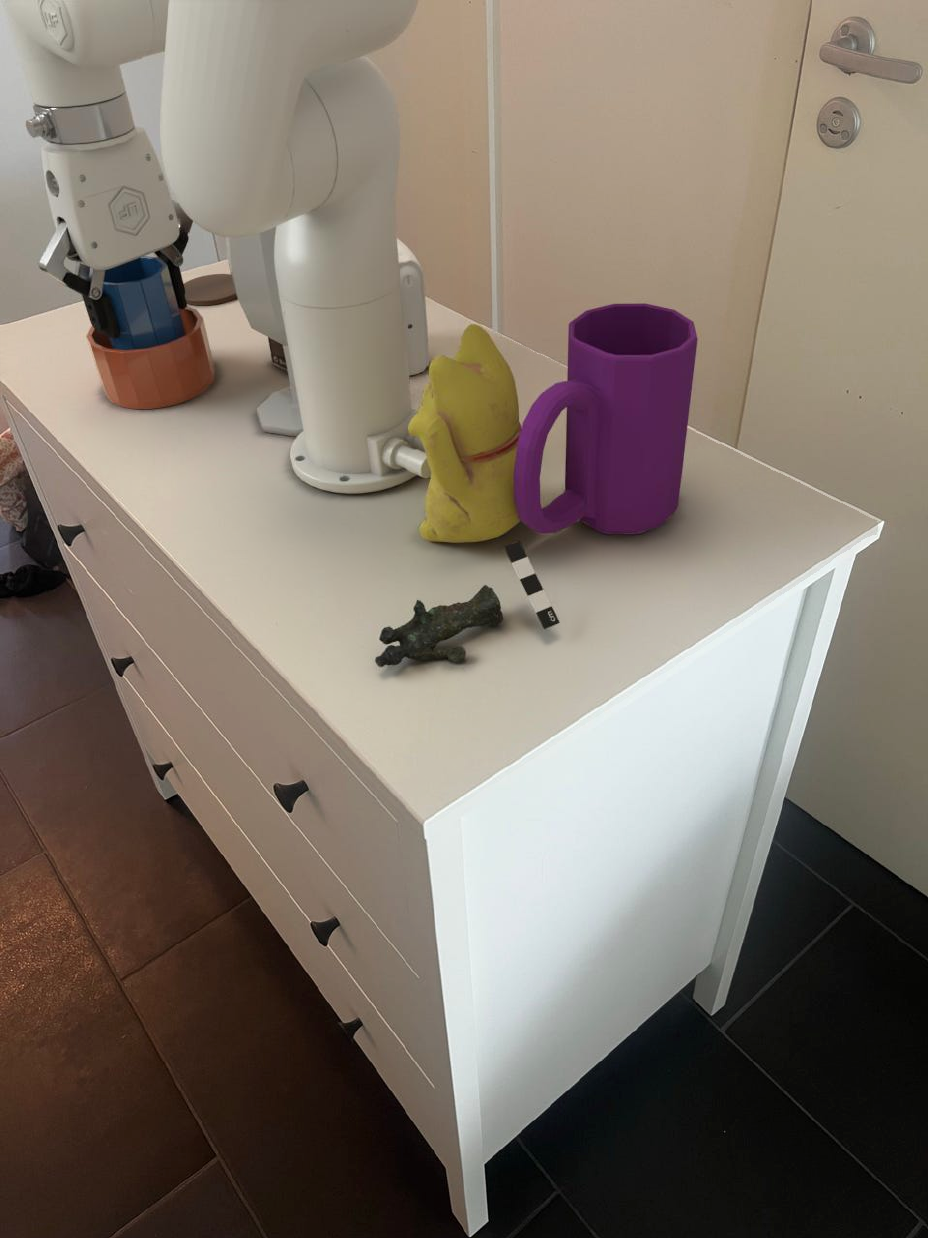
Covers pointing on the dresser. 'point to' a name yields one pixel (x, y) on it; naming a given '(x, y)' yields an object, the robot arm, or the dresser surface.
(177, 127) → the robot arm
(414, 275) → the photo printer
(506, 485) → the figurine
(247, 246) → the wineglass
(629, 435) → the mug
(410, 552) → the dresser surface
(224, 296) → the coaster
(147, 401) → the orange bowl
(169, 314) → the blue cup
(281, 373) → the dresser surface
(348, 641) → the dresser surface
